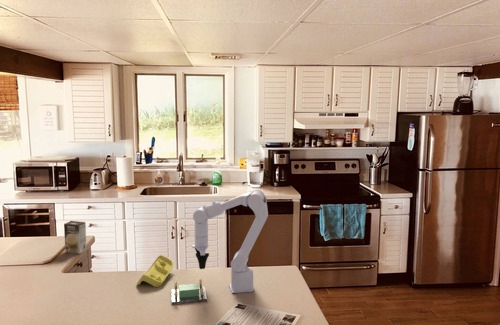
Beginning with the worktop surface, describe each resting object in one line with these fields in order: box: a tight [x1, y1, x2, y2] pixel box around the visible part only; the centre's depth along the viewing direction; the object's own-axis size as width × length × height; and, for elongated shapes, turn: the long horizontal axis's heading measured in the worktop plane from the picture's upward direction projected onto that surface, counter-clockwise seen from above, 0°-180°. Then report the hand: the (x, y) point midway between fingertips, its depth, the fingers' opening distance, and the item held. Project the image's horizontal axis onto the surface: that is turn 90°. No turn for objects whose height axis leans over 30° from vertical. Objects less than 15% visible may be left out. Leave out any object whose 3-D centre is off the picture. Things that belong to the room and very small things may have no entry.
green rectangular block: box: [178, 283, 200, 298], centre depth 155 cm, size 8×5×3 cm, turn 102°
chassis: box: [171, 279, 208, 305], centre depth 155 cm, size 14×11×5 cm
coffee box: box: [63, 220, 87, 255], centre depth 203 cm, size 9×6×16 cm
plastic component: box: [136, 254, 174, 288], centre depth 173 cm, size 20×7×10 cm
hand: (201, 265), depth 164 cm, fingers open, 7 cm apart
